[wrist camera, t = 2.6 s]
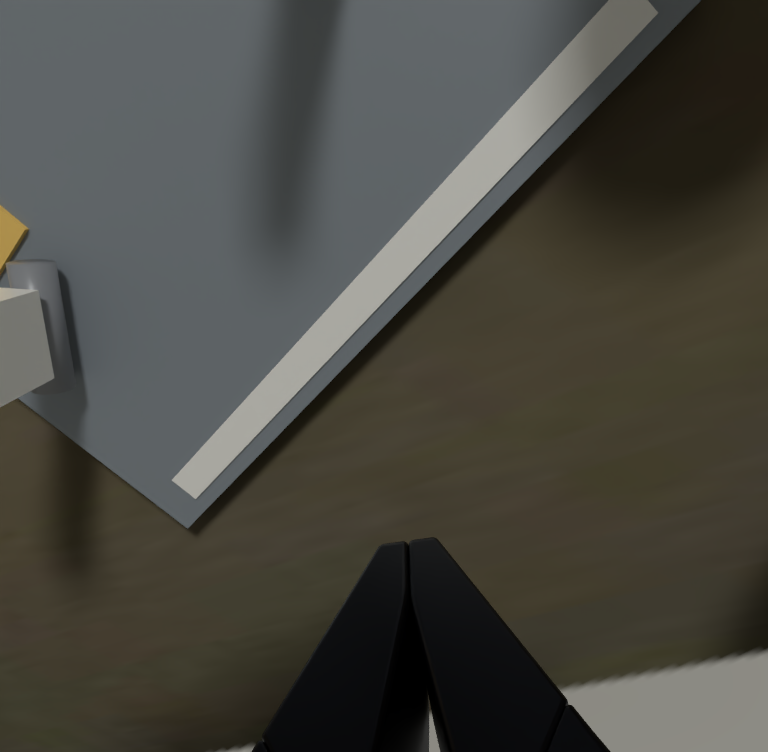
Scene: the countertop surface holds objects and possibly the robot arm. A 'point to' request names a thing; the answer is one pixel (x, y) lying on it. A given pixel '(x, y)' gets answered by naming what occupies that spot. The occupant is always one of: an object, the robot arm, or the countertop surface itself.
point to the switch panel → (267, 191)
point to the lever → (33, 332)
